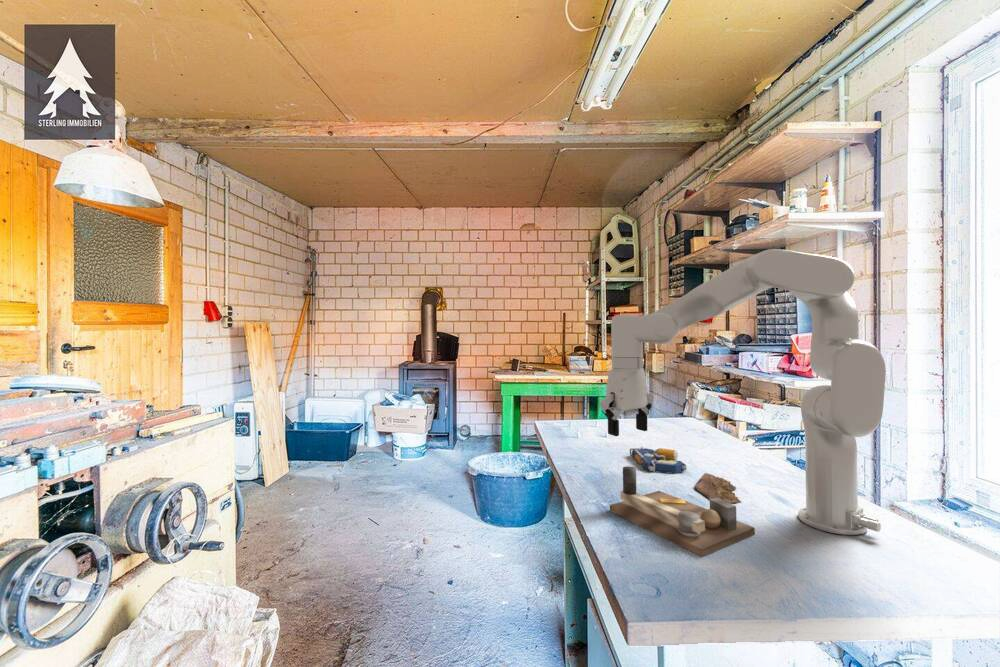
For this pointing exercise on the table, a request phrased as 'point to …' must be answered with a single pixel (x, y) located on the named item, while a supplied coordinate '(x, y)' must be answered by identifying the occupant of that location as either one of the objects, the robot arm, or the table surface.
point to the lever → (658, 505)
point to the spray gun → (658, 460)
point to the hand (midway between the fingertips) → (627, 432)
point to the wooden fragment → (716, 488)
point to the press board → (716, 535)
